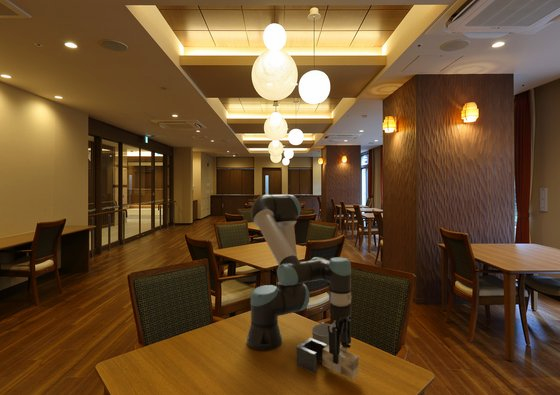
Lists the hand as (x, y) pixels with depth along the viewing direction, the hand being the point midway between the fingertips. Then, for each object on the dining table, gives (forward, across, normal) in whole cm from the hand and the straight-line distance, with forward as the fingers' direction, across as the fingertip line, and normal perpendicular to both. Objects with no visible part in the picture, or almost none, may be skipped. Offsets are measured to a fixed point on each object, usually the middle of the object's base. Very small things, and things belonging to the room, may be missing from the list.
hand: (340, 368), depth 105 cm
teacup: (+3, +15, +16) cm, 22 cm away
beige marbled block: (+1, 0, 0) cm, 1 cm away
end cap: (+3, 0, +12) cm, 13 cm away
